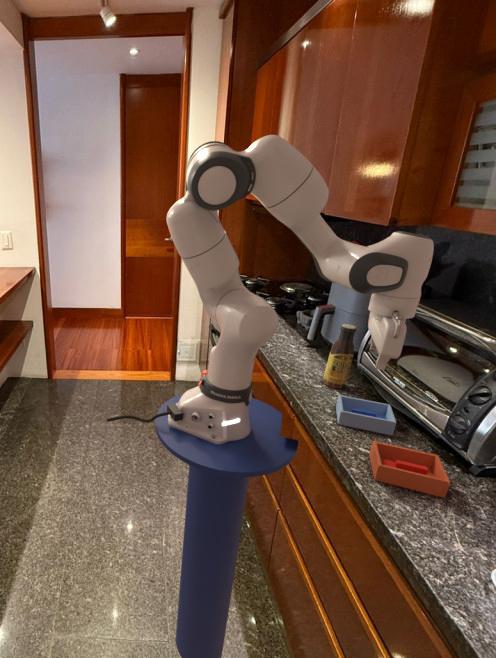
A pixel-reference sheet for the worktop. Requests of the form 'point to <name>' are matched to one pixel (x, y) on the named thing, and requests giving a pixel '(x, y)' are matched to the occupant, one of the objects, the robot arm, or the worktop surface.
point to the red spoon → (406, 466)
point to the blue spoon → (366, 413)
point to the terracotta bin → (430, 483)
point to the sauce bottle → (340, 358)
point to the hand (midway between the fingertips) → (376, 360)
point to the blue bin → (364, 421)
